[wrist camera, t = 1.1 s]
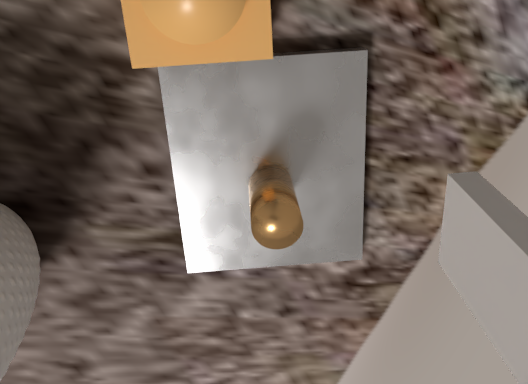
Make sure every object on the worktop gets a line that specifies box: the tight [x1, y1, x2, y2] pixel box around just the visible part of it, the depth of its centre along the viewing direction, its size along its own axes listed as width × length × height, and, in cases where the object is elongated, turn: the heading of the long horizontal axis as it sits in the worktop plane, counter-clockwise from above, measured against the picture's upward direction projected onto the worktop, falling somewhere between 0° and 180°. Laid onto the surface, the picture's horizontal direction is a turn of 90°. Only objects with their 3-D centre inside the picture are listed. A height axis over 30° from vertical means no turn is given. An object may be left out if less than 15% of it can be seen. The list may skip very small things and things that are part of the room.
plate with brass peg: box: [158, 47, 368, 273], centre depth 29 cm, size 14×12×7 cm
